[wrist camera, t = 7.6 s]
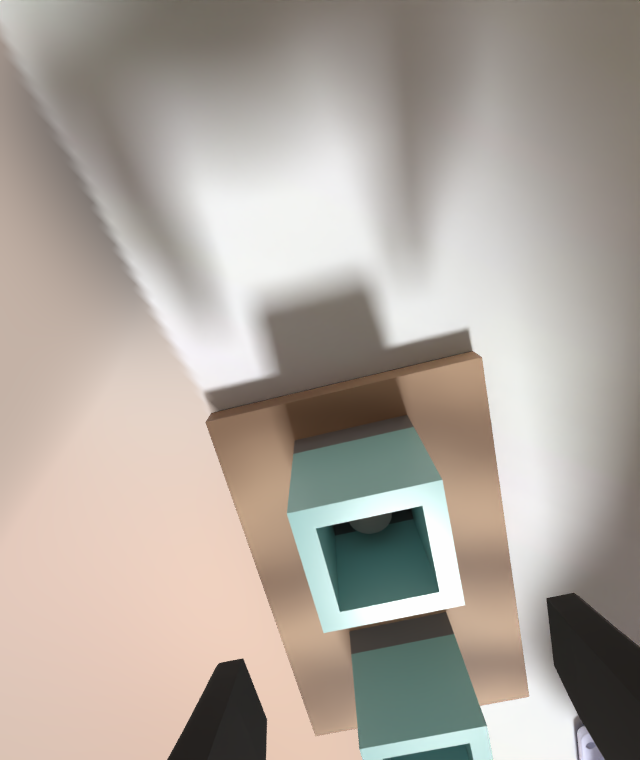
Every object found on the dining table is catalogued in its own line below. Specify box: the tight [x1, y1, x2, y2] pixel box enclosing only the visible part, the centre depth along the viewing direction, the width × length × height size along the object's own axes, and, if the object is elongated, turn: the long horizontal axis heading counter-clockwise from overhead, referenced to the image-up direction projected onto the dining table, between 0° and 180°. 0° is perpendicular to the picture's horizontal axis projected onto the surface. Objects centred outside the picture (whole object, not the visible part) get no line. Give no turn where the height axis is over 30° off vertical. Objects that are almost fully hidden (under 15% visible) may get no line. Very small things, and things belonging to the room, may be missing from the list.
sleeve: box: [287, 415, 465, 633], centre depth 16 cm, size 5×5×5 cm
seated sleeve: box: [349, 612, 493, 760], centre depth 19 cm, size 5×5×5 cm
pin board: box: [206, 351, 529, 736], centre depth 19 cm, size 18×11×4 cm, turn 14°
